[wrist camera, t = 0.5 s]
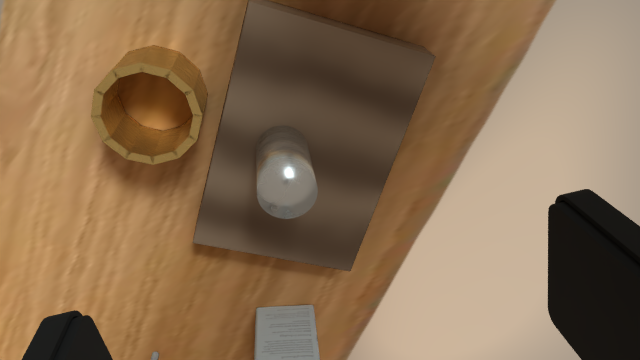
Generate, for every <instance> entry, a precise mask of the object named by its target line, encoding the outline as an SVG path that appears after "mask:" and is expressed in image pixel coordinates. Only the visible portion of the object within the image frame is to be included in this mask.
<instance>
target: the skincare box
mask: <svg viewBox="0 0 640 360" xmlns="http://www.w3.org/2000/svg"><path fill="white" fill-rule="evenodd" d="M254 360H320V357H319V348H318V340H317V331H316V322H315V314H314V307H313V305H296V306H275V307H259V308H257V309H256V319H255V350H254Z"/></svg>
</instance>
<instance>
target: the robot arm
mask: <svg viewBox="0 0 640 360" xmlns="http://www.w3.org/2000/svg"><path fill="white" fill-rule="evenodd" d="M548 215H549V216H548V311H549V315H550V317H551V320H552V322H553V323H554V325H555V326H556V328H557V329H558V330H559V331H560V333H561V334H562V335H563V336H564V338H565V339H566V340H567V342H568V343H569V344H570V346H571V347H572V348H573V349H574V351H575V352H576V353H577V354H578V356H579V357H580V358H581V359H582V360H640V226H639V225H637V224H636V223H634V222H633V221H632V220H630V219H629V218H628V217H626V216H625V215H624V214H622V213H621V212H620V211H618V210H617V209H615V208H614V207H613V206H612V205H610V204H609V203H608V202H606V201H605V200H604V199H602V198H601V197H600V196H598V195H597V194H595V193H594V192H593V191H591V190H589V189H584V190H580V191H576V192H571V193H567V194H563V195H560V196H558V197H557V199H556V201H555V204H552V205H551V206H550V207H549V212H548ZM22 360H113V359H112V357H111V355H110V353H109V351H108V349H107V347H106V345H105V343H104V341H103V339H102V337H101V335H100V333H99V331H98V329H97V327H96V325H95V323H94V321H93V320H92V318H91V317H90V316H88V315H85V316H82V314H81V313H80V312H79V311H75V310H74V311H70V312H66V313H62V314H58V315H53V316H49V317H46V318H44V320H43V321H42V322H41V324H40V326H39V328H38V330H37V332H36V334H35V335H34V337H33V339H32V341H31V343H30V345H29V347H28V349H27V351H26V353H25V354H24V356H23V358H22Z"/></svg>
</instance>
